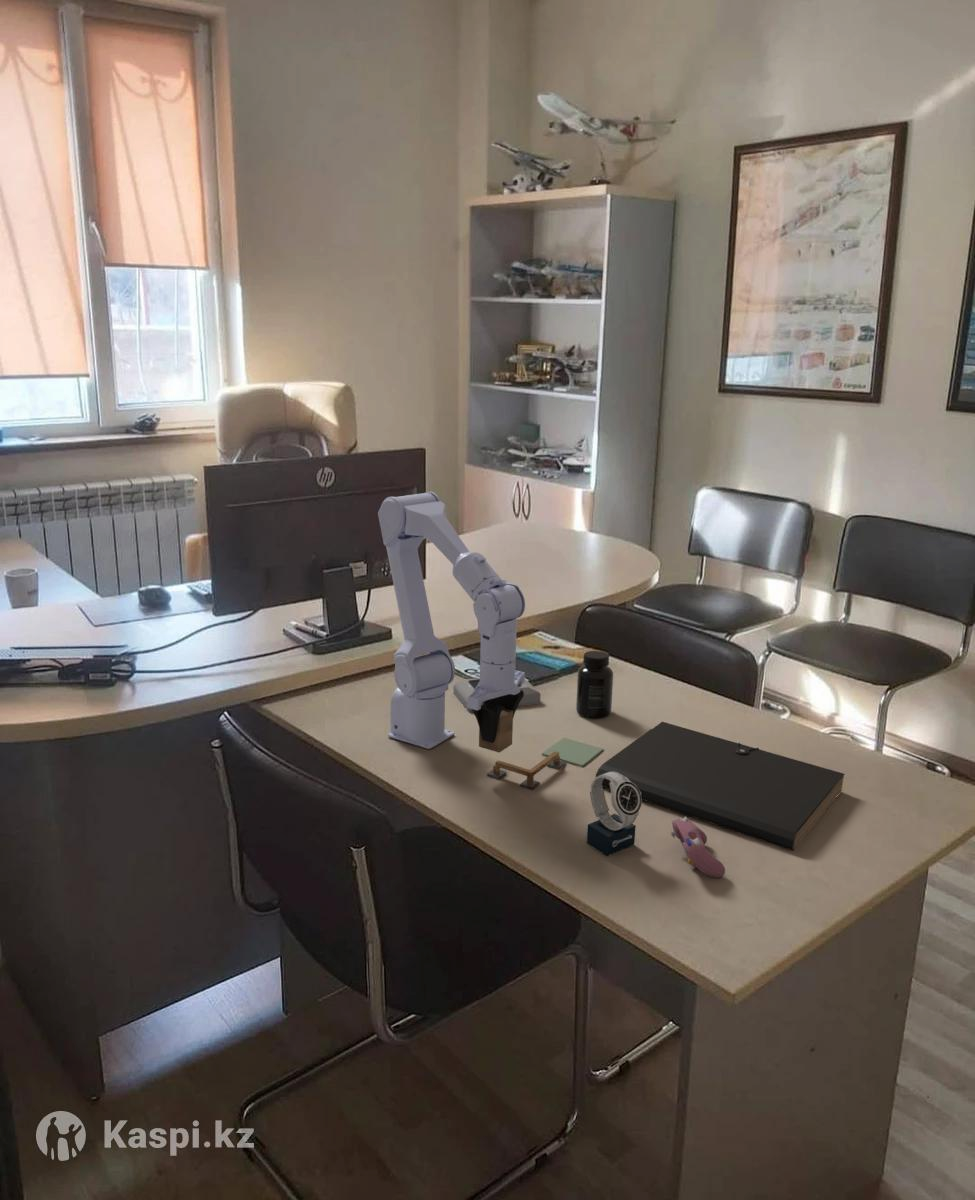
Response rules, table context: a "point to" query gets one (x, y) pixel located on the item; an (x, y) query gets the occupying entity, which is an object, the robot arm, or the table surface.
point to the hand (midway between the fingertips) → (495, 736)
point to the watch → (613, 829)
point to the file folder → (727, 783)
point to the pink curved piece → (696, 847)
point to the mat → (574, 751)
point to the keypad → (469, 685)
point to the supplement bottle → (594, 686)
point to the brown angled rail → (529, 783)
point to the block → (500, 733)
